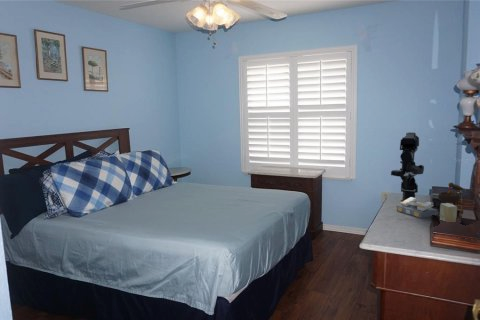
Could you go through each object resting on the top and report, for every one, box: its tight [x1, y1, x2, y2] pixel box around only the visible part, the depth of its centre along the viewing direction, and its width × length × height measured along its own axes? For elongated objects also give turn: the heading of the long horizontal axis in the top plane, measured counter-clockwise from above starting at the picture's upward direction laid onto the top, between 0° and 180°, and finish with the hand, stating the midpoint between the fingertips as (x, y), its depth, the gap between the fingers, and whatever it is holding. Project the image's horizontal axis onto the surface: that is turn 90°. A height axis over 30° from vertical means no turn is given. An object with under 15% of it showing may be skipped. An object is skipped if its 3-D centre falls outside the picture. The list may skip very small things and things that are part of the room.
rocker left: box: [400, 197, 417, 207], centre depth 201 cm, size 4×8×2 cm, turn 112°
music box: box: [431, 182, 468, 218], centre depth 179 cm, size 15×11×20 cm
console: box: [396, 204, 438, 219], centre depth 196 cm, size 16×12×4 cm
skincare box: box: [439, 203, 458, 222], centre depth 167 cm, size 6×4×12 cm
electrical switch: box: [430, 193, 447, 212], centre depth 200 cm, size 9×5×9 cm, turn 57°
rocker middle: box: [409, 201, 424, 206], centre depth 196 cm, size 4×8×2 cm, turn 112°
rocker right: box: [417, 201, 434, 211], centre depth 191 cm, size 4×8×2 cm, turn 112°
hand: (406, 187), depth 204 cm, fingers closed
